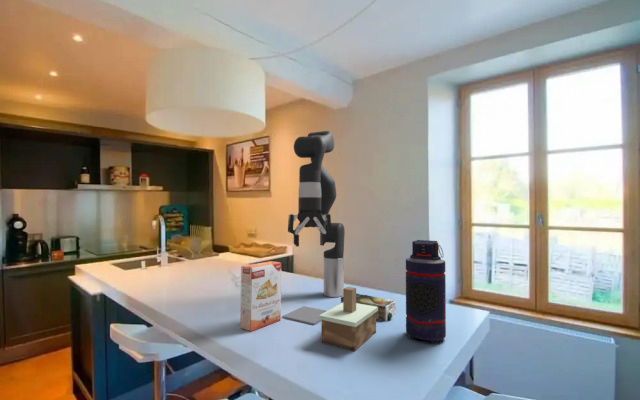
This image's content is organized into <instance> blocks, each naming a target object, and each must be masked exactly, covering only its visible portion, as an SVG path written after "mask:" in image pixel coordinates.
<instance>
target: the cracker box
mask: <svg viewBox="0 0 640 400" xmlns="http://www.w3.org/2000/svg"><path fill="white" fill-rule="evenodd" d="M240 271H241V273H240V275H241V276H240V316H239V317H240V324H239V327H240V328H241V329H243V330H246V331H249V332H252V331H255V330H259V329H260V328H264V327H266V326H269V325H271V324H274V323H277V322H279V321H281V318H282V316H281V314H282V313H281V311H282V310H281V309H282V308H281V306H282V305H281V303H282V262H280V261H274V260H273V261H270V260H269V261H263V262H259V263H253V264H252V263H251V264H246V265H241V270H240Z"/></svg>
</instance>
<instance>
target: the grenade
mask: <svg viewBox="0 0 640 400" xmlns="http://www.w3.org/2000/svg"><path fill="white" fill-rule="evenodd" d="M411 243H412V244H411V245H412V246H411V247H412V249H411V250H412V254H410V256H409V257H408V258H406V259H405V331H406V333H407V335H408V338H409V339H410V340H414V338H415V339H419V340H424V341H431V344H434V345H436V344H440V341H441V340H443V339H445V338H446V336H447V328H446V327H447V324H446V322H447V321H446V317H447V315H446V314H447V313H446V312H447V309H446V300H447V299H446V298H447V297H446V295H447V294H446V261H445V260H444V259H442V258H444V255H445V254H444V251H443V249H442V248H443V247H442V246H441V245H440V244H439V242H438V240H427V239H426V240H423V239H422V240H421V239H416V240H413V241H412V242H411Z"/></svg>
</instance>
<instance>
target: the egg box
mask: <svg viewBox="0 0 640 400" xmlns="http://www.w3.org/2000/svg"><path fill="white" fill-rule="evenodd" d="M376 333H377V319H376V312H375V313H374V314H373V315H371V316H370V317H369V318H367V319H366V320H365V321H363V322H362V323H361V324H359V325H358V326H357V327H353V326H348V325H343V324H339V323H334V322H329V321H325V320H322V321H321V337H320V338H321V339H320V340H321V341H320V342H321V343H322V344H325V345H329V346H333V347H337V348H341V349H345V350H349V351H352V352H356V351H357V350H358V349H359V348H361V347H362V345H364V344H365V343H366V342H367V341H368V340H370V339H371V338H372V337H373V336H374V335H375V334H376Z"/></svg>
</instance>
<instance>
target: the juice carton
mask: <svg viewBox="0 0 640 400" xmlns="http://www.w3.org/2000/svg"><path fill="white" fill-rule="evenodd" d="M341 303H343V296H340V304H341ZM356 303H358V304H364V305H370V306H376V307H378V311H377V312H376V320H378V321H379V320H381V321H383V322H384V321H385V322H387V321H390V320H391V319H392V318H393V317H394V316H395V315H396V309H397V307H396V305H397V304H396V300H392V299H388V298H387V299H386V298H383V297H378V296H373V295H372V296H371V295H367V294H360V293H357V292H356ZM392 316H393V317H392Z"/></svg>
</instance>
